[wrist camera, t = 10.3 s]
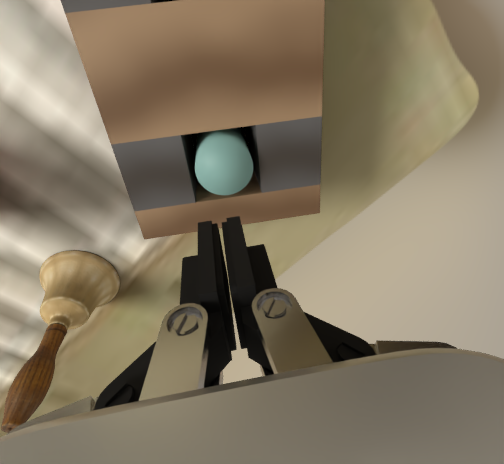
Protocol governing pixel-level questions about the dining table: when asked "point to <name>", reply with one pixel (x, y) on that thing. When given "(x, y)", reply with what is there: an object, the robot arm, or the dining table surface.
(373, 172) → the dining table surface
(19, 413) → the hand bell
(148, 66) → the socket block
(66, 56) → the dining table surface
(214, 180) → the teal peg
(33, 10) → the dining table surface
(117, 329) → the dining table surface
